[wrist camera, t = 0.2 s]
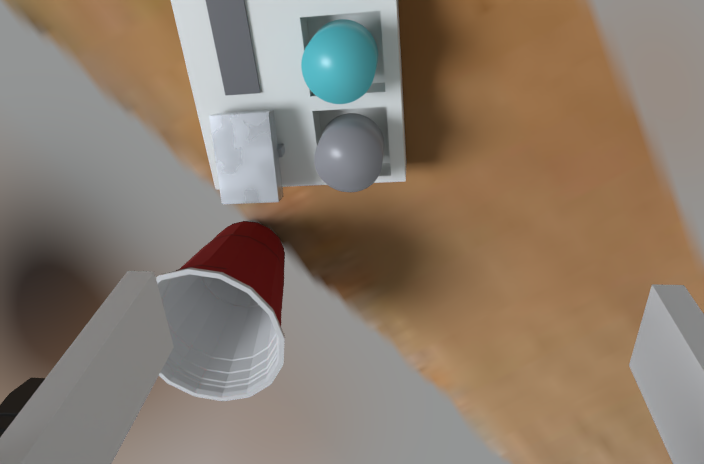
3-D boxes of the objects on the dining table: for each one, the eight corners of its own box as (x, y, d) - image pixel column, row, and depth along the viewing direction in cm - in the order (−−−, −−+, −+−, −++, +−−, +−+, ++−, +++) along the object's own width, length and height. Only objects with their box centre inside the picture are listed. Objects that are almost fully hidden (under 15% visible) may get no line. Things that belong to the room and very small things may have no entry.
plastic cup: (267, 168, 44) (222, 251, 34) (336, 273, 49) (315, 374, 38) (161, 221, 48) (91, 311, 37) (234, 314, 52) (189, 417, 42)
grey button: (317, 115, 38) (310, 130, 36) (382, 111, 38) (379, 127, 35) (324, 174, 41) (318, 193, 38) (386, 171, 40) (384, 190, 37)
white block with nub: (216, 113, 39) (208, 115, 37) (273, 109, 38) (268, 112, 37) (228, 198, 40) (221, 204, 39) (283, 196, 40) (278, 201, 39)
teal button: (305, 22, 35) (296, 32, 33) (375, 16, 35) (372, 26, 32) (314, 91, 38) (306, 106, 35) (380, 87, 37) (377, 101, 34)
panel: (151, -168, 34) (121, -175, 30) (388, -199, 32) (384, -210, 28) (227, 172, 45) (211, 195, 41) (406, 164, 43) (405, 187, 39)
